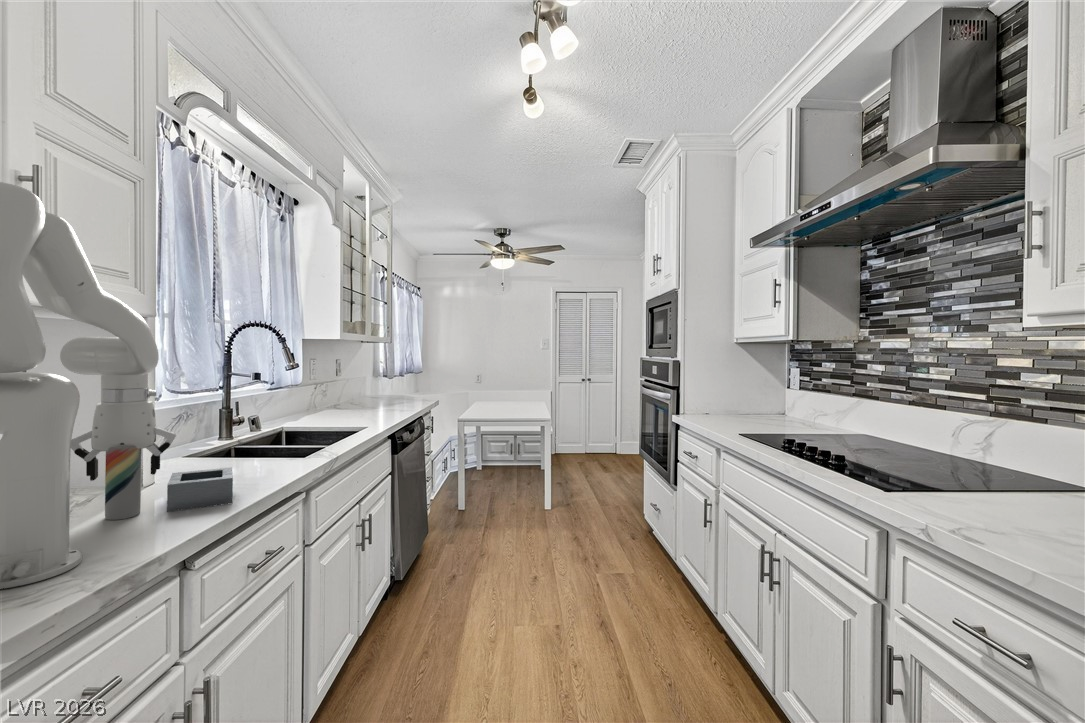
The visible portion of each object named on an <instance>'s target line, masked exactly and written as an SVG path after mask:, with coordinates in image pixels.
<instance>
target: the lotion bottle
mask: <svg viewBox="0 0 1085 723" xmlns="http://www.w3.org/2000/svg"><path fill="white" fill-rule="evenodd" d="M120 445H124V443H120ZM104 472H105V474H104V477H105V480H104V482H105V485H104V487H105V488H104V489H105V490H104V516H105V517H104V518H105V519H106V520H109V521H113V520H114V521H118V520H125V519H129V518H133V517H136V516H138V515H139V514H140V513H141V507H142V506H141V505H142V504H141V501H142V500H141V498H142V495H141V494H142V449H138V448H136V446H116V447H110V448H109V449H108V450H107V451H105V471H104Z"/></svg>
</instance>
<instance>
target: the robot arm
mask: <svg viewBox="0 0 1085 723" xmlns="http://www.w3.org/2000/svg"><path fill="white" fill-rule="evenodd" d="M23 278H24V279H25V280H23ZM24 281H26V283H27V284H28V286H29V288H30V290H31V291H32V293H33V295H34V296H35V298H36V300H37V301H38V304H40V305H41V306H42V308H44V309H46V310H47V311H49V312H52V313H55V314H58V315H59V316H62V317H66V318H69V319H71V320H73V321H74V320H75V321H78V322H81V323H85V324H88V325H89V326H90V325H91V326H94V327H97V328H100V329H102V330H104V331H107V332H109V333H111V334H112V335H113V336H80V337H76V338H73V339H70V340H69V341H67V342H65V344H64V345H63V346H62V347H61V349H60V353H59V359H60V363H61V364H62V366H63V367H64V368H65V369H66V370H68V371H69V372H71V373H74V374H78V375H83V376H100V402H98V403H96V406H95V409H94V414H93V419H92V428H91V431H89V432H86V433H84V434H81V435H79V436H77V437H74V438H72V436H73V433H74V432H73V431H74V427H75V422H76V419H77V415H78V411H79V408H80V398H81V397H80V394H81V393H80V391H79V389H78V386H77V385H76V383H74V382H73V381H72V380H71V379H69V378H67V377H65V376H62V375H58V374H55V373H48V372H38V371H35V372H33V371H30V370H32V369H34V368H36V367H38V366H39V365H40V364H41V363H42V362H43V361H44V360H45V356H46V353H47V352H46V351H47V350H46V347H47V346H46V343H45V340H44V337H43V332H42V330H41V328H40V325H39V322H38V319H37V317H36V315H35V314H36V313H35V312H34V309H33V307H32V305H31V304H32V303H31V301H30V298H29V295H28V294H27V290H26V288H25V285H24ZM159 357H160V356H159V349H158V346H157V342H156V340H155V337H154V335H153V333H152V330H151V328H150V326H149V325H148V323H147V322H146V320H145V319H144V318H143V317H142V315H140V314H139V313H138V312H137V311H135V310H134V309H132V307H129V306H128V304H125V302H122V300H120V299H118V298H117V297H115V296H113V295H112V294H110V293H108V292H107V291H105V290H103V288H102V287H101V286H100V282H99V281H98V279H97V276H96V275H95V272H94V270H93V268H92V266H91V264H90V262H89V260H88V258H87V255H86V253H85V251H84V249H83V246H82V244H81V243H80V241H79V238H78V236H77V235H76V232H75V231H74V228H73V227H72V225H70V223H69V222H68V221H66V220H65V219H64V218H62V217H61V216H59V215H56V214H53V213H50V212H46V211H45V207H44V204H43V203H42V201H41V199H40V198H39V197H38V196H37V195H36V194H35V193H34V192H33V191H30V190H29V189H27V188H25V187H21V186H20V185H19V186H18V185H15V184H13V183H12V184H11V183H8V182H2V181H0V435H2V437H1V438H0V590H3V588H4V589H9V588H10V589H11V588H15V587H21V586H26V585H29V584H33V583H38V582H42V581H45V580H47V579H50V578H53V577H56V576H59V575H61V574H64V573H67V572H68V571H71V570H72V569H74V568H75V567H77V566H78V565H80V564H81V562H82V560H83V553H82V552H81V551H80V550H78V549H73V548H70V508H71V507H70V504H71V503H70V502H71V499H70V498H71V452H72V451H73V452H74V455H76V456H78V457H79V458H81V459H83V461H84V462H85V463H86V465H85V466H86V467H85V468H86V474H85V475H86V477H89V480H90V481H91V482H92V481H95V480H97V478H99V459H98V458H97V456H98V454H100V453H101V452H106V451H107V450H108V449H109V448H110V447H116V446H136V448H138V449H141V450H142V449H146V450H147V451H148V452H150V453H151V456H150V475H151V476H152V475H154V476H155V475H156V473H157V470H161V454H163V453H164V452H165V451H166V450H167V449H169V448H170V446H171V445H172V443H173V442H174V440H175V439H176V437H177V434H176V433H175V432H172V431H169V430H167V429H163V428H160V427H157V423H156V421H157V420H156V409H155V406H154V403H153V401H151V400H149V399H150V398H152V397H157V393H158V392H157V390H152V389H150V388H149V373H152V371H154V370H155V369H156V367H158V366H157V365H158V363H159ZM157 435H158V436H161V437H164V438H165V441H164V442H163V443H162V444H161V445H160V446H158V445H157V443H155V442H156V441H157ZM90 439H91V441H90V442H91V444H90V446H91V449H92V450H91V451H89V450H87V449H86V448H84V447H82V445H81V443H83V442H85V441H88V440H90ZM120 443H124V445H120ZM71 450H72V451H71Z"/></svg>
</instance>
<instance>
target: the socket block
mask: <svg viewBox="0 0 1085 723" xmlns="http://www.w3.org/2000/svg"><path fill="white" fill-rule="evenodd" d="M170 475H171V476H170V478H169V481H168V482H167V488H166V489H167V490H166V491H167V494H166V495H167V496H166V497H167V498H166V512H167V513H170V512H177V511H185V510H192V509H193V508H194V509H200V507H201V508H208V507H207V506H209V507H215V506H214V505H217V506H222V505H221V504H224V505H229V504H228V503H232V504H233V497H234V496H233V488H234V486H233V485H234V483H233V482H234V478H233V476H234V475H233V467H221V468H211V469H201V470H194V471H193V470H190V471H179V472H172V473H171V474H170Z"/></svg>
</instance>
